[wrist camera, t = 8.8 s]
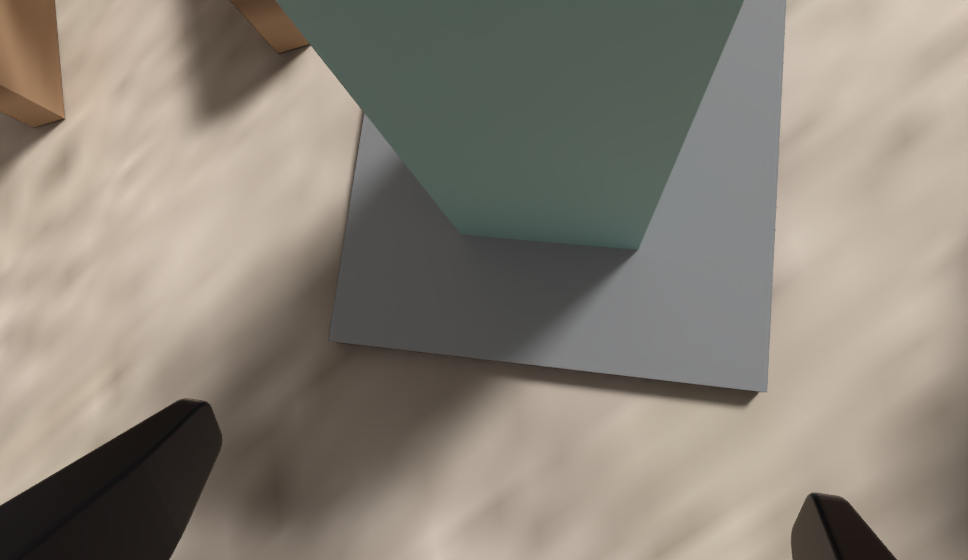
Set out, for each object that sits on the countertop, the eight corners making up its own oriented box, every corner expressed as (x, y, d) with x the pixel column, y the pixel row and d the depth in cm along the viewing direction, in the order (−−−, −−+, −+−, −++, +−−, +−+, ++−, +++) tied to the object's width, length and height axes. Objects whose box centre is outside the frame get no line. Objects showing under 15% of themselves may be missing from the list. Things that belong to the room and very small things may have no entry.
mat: (760, 392, 16) (767, 392, 16) (336, 342, 18) (328, 340, 18) (781, -18, 18) (787, -32, 17) (392, -22, 20) (387, -34, 19)
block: (638, 249, 17) (817, -172, 4) (460, 234, 18) (154, -152, 5) (653, 80, 17) (843, -720, 5) (482, 73, 18) (264, -621, 6)
